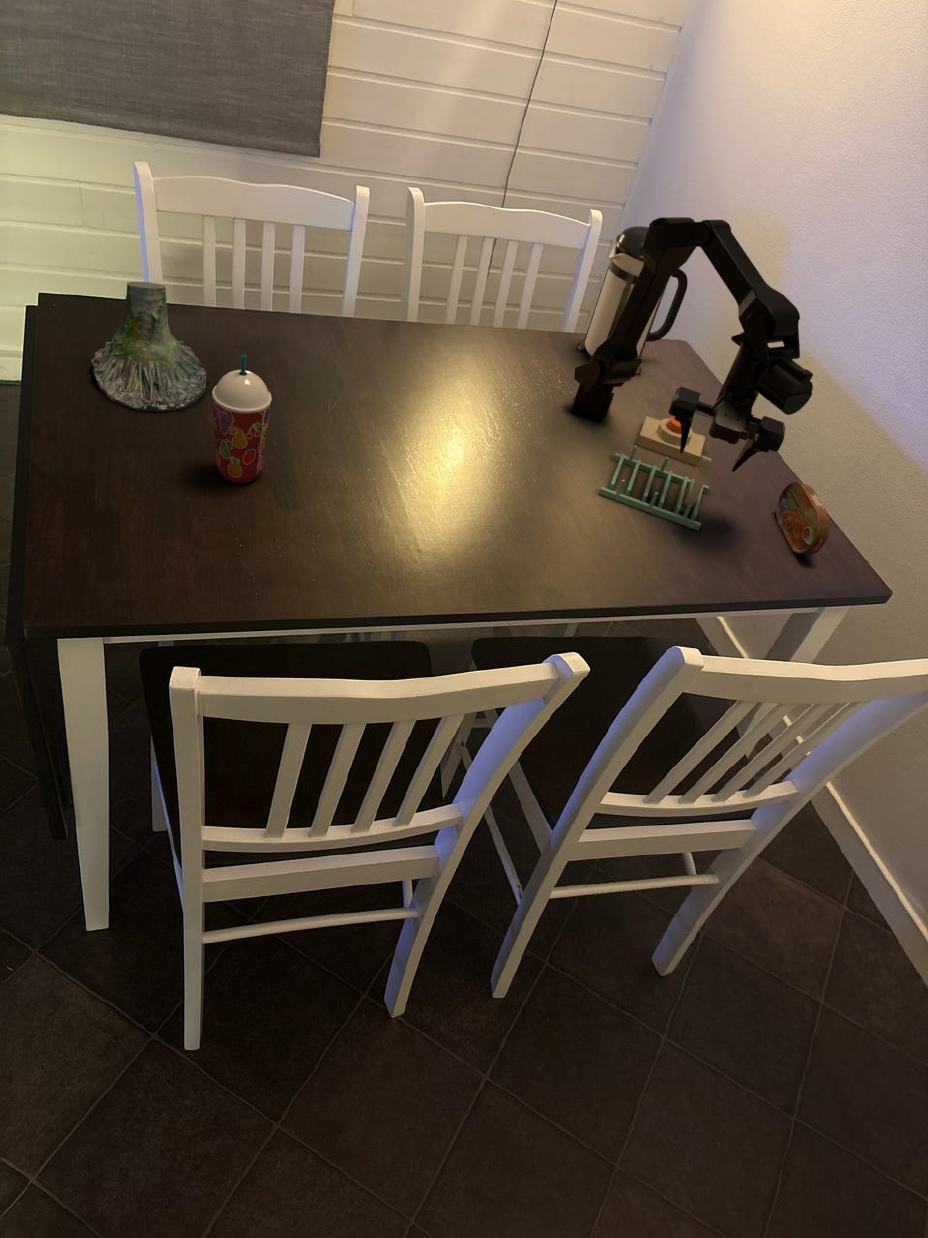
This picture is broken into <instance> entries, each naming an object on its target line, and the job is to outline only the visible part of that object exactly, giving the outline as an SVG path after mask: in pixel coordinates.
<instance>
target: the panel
mask: <svg viewBox="0 0 928 1238" xmlns="http://www.w3.org/2000/svg"><path fill="white" fill-rule="evenodd" d="M670 418H671V417H665V418H663V419H657V418H653V417H652V416H651V417H650V416H649V415H647V416H645V419H644V422H643V424H642V426H641V429H640V433H639V434H638V438H637V440H636V443H635V445H636V446H640V447H642V448H646V449H648V450H650V451H653V452H657V453H659V454H662V455H665V456H666V457H669V458H673V459H676V460H678V461H680V462H681V461H682V462H684V463H686V464H690V465H692V466H695V467H696V466H697V464H698V462H699V460H700V458H701V457H702V453H703V449H704V444H705V440H706V436H704V435H701V434H699V433H696V432H694V430H693V429H692V427H691V428H690V431H689V435H688V439H687V442H686V446H685V449H684V451H683V453H680V446H681V434H677V433H674V432H672V431H670V430H669V429H668V428H667V425H668V422H669V420H670Z"/></svg>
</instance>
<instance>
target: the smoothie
mask: <svg viewBox="0 0 928 1238" xmlns="http://www.w3.org/2000/svg"><path fill="white" fill-rule="evenodd" d="M240 357H241V359H240V361H241V362H240V369H235V370H231V371H228V372H227V373H226V374H224V375H223V376H221V378H220V379H219V380H218V382H217V384H216V385H215V386H214V387H213V389H212V391H211V393H212V394H211V395H212V408H213V409H212V410H213V424H214V426H213V427H214V443H215V461H216V468H217V470H219V471H220V474H221V476H222V477H223V478H224V479H226V480H227V481H230V482H232V483H237V484H239V483H240V484H244V483H248V482H252V481H253V480H255V479H256V478H257V477H258V475H259V474H260V473H261V471H262V468H263V465H264V456H265V448H266V442H267V435H268V433H267V432H268V426H269V421H270V420H269V419H270V412H271V406H272V405H271V403H272V402H273V401H272V400H273V397H272V394H271V392H270V391H269V389H268V388H267V384H265V382H264V381H263V379H262V378H261V377H260V376H259V375H258V374H256V373H254V372H252V371H250V370H247V368H246V367H247V355H246V354H241V356H240Z"/></svg>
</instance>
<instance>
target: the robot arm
mask: <svg viewBox="0 0 928 1238" xmlns="http://www.w3.org/2000/svg"><path fill="white" fill-rule="evenodd" d="M650 223H651V224H650ZM650 223H649V224H650V225H649V224H648V227H649V228H648V230H647V234H646V237H645V240H644V243H643V247H642V252H643V261H644V265H643V267H642V270H641V272H640V274H639V276H638V278H637V280H636V283H635V285H634V287H633V289H632V291H631V294H630V296H629V298H628V300H627V302H626V305H625V307H624V309H623V311H622V313H621V316H620V318H619V320H618V322H617V324H616V327H615V329H614V331H613V333H612V335H611V336H610V337H609V338H608V339H607V340H605V341H604V342H603V343H602V344H601V345H600V346H598V347H597V349H596V350H595V352H594V354H593V355H592V356H590V358H589V361H588V362H585V363H583V364H581V365H578V366H576V367H575V368H574V374H573V375H574V377H573V378H574V381H576V382H577V383H578V384H579V385H578V388H577V391H576V394H575V397H574V400H573V403H572V405H571V406H570V408H569V412H570V413H571V414H573V415H577V416H578V417H582V418H585V419H587V420H591V421H593V422H596V423H599V424H600V423H602V421H603V419H604V418H606V417H607V416H608V414H609V411H610V408H611V406H612V403H613V400H614V397H615V392H613V391H614V389H615V388H617V387H618V388H622V387H623V385H624V384H625V383H626V382H629V381H630V380H632V378H636V377H637V374H636V371H638V369H639V366H640V364H641V365H642V363H643V359H642V357H641V358H640V357H638V352H637V344H638V342H639V340H640V338H641V336H642V333H643V331H644V329H645V327H646V325H647V323H648V321H649V319H650V317H651V315H652V313H653V311H654V309H655V307H656V305H657V302H658V300H659V298H660V296H661V294H662V292H663V290H664V288H665V286H666V284H667V282H668V280H669V278H670V279H671V277H672V276H671V275H672V274H673V273H674V272H675V271H676V270H677V269H681V267H682V266H684V265H685V264H686V263H687V262H688V260H689V259H690V257H691V256H692V255H693V253H694V251H695V250H696V249H697V248H700V249H701V250H702V252H703V253H704V255H705V256H706V257H707V259H708V261H709V262H710V264H711V265H712V267H713V268H714V270H715V271H716V273H717V274H718V276H719V277H720V279H721V280H722V282H723V283H724V285H725V286H726V288H727V289H728V291H729V292H730V294H731V296H732V297H733V298H734V300H735V302H736V304H737V305H736V306H737V308H738V309H737V310H738V311H737V315H738V316H737V317H738V318H737V319H738V321H739V323H740V325H741V328H742V330H743V331H742V332H740V333H738V334H735V335H732V336H731V337H730V340H731V341H732V342H733V343H734V344H736V345H737V346H738V347H739V349H738V350H737V353H736V355H735V358H734V360H733V362H732V364H731V366H730V369H729V371H728V372H727V375H726V378H725V380H724V382H723V384H722V386H721V387H720V391H719V393H718V395H717V397H716V400H715V402H714V404H713V405H712V404H709V403H707V402H703V401H700V397H701V392H698V391H695V390H692V389H690V388H687V387H685V386H680V387H678V388H676V390H675V392H674V395H673V397H672V399H671V403H670V405H669V409H668V414H669V415H670V416H672V417H674V419H675V420H676V421H678V422H680V425H681V446H680V453H683V451H684V449H685V446H686V442H687V439H688V435H689V431H690V428H691V429H692V424H693V420H694V417H695V414H697V415H700V416H703V417H705V418H708V419H712V421H711V424H710V427H709V429H708V434H709V435H708V436H710V437H711V438H713V439H719V440H720V441H721V440H722V441H723V442H726V443H728V444H731V445H736V444H738V443H739V441H740V440H743V441H746V443H745V445H744V446H743V448H742V450H740V452H739V454H738V456H737V458H735V459H736V460H735V462H734V463H733V466H732V468H731V472H733V473H735V472H736V471H737V470H738V469H740V467H742V465H744V464H745V463H746V462H747V461H748V460H749V459H750V458H751V457H753V456H755V455H757V453H758V454H759V453H768V452H769V451H772V452H774V453H775V452H779V450H780V448H781V447H782V444H783V442H784V440H785V435H786V425H785V422H783V421H781V420H778V419H775V418H772V417H769V416H767V415H763V416H762V418H758V417H756V416H754V414H753V413H752V412H753V407H754V406H755V403H756V401H757V399H758V396H759V395H761V396H762V397H763V398H764V399H765V400H767V401H768V402H769V403H770V404H772V405H773V406H774V407H775V408H777V409H778V410H780V411H781V412H782V413H784V414H785V415H786V416H791V415H795V414H796V413H797V412H800V411H801V410H802V409H803V408H804V407H805V406H806V404H807V403H808V402H809V401H810V399H811V398H812V395H813V389H814V385H813V382H812V378H813V376H814V373H813V372H812V371H811V370H809V369H807V368H804V367H802V366H801V365H800V364H798V363H797V362H796V361H794V360H799V359H801V347H800V346H801V344H800V330H799V324H800V319H801V316H800V312H799V310H798V308H797V306H795V304H793V303H792V301H790V299H789V298H787V297H786V295H785V294H783V293H781V292H780V291H778V290H776V289H774V288H773V287H772V286H770V285H769V284H768V283H767V282H766V281H765V279H764V278H763V277H762V275H761V273H760V272H759V271H758V269H757V268H756V266H755V265H754V263H753V261H752V260H751V258H749V257H750V256H748V254H747V252H745V250H744V249H743V247H742V245H741V244H740V243H739V241H738V240H737V237H735V235H734V233H733V232H732V226H731V225H730V223H728V222H727V221H726V220H725V219H702V220H701V221H695V220H694V219H693V218H691V217H689V216H688V217H687V216H686V217H685V216H683V217H682V216H681V217H680V216H678V217H677V216H676V217H673V216H672V217H671V216H669V217H667V216H666V217H665V216H664V217H657V218H656V219H653V220H652V222H651V221H650ZM670 276H671V277H670ZM669 281H670V280H669ZM668 283H669V282H668ZM774 343H782V344H783V345H781V346H773V347H770V346H769V344H774Z"/></svg>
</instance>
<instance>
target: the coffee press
mask: <svg viewBox="0 0 928 1238" xmlns="http://www.w3.org/2000/svg"><path fill="white" fill-rule="evenodd" d="M652 221H653V220H652ZM652 221H650V223H649V224H648V226H644V225H643V226H641V225H635V226H629V227H627V228H625V229H624V230H622V231H621V233H619V234H618V235H617V236H616V239H615V242H614V246H613V248H612V250H611V251H610V252H609V255H608V259H609V263H608V266H607V269H606V273H605V276H604V279H603V281H602V285H601V287H600V291H599V293H598V298H597V300H596V303H595V306H594V309H593V312H592V315H591V319H590V321H589V325H588V328H587V331H586V333H585V337H584V338H583V339H582V340H580V341H579V342H578V343H577V344H576V349H577V350H578V351H583V350H586V352H587V353H588V354H589V355H590V357H592V355H593V354H594V352H595V350H596V349H597V347H598V346H600V345H601V344H602V343H603V342H604V341H605V340H607V339H608V338H609V337H610V336H611V335H612V333H613V331H614V329H615V327H616V324H617V322H618V320H619V318H620V316H621V313H622V311H623V309H624V307H625V305H626V302H627V300H628V298H629V296H630V294H631V291H632V289H633V287H634V285H635V283H636V280H637V278H638V276H639V274H640V272H641V270H642V267H643V265H644V261H643V252H642V247H643V243H644V240H645V237H646V234H647V230H648V228H649V225H650V224H651V222H652ZM671 277H672V278H675V279H676V280H677V287H676V291H675V293H674V296H673V298H672V301H671V304H670V307H669V309H668V312H667V314H666V317H665V320H664V322H663V324H662V325H661V327H660V328H659V329H658V330H655V331H654V332H651V330H652V328H653V325H654V322H655V320H656V317H657V314H658V312H659V309H660V307H661V303H662V301H663V298H664V297H665V293H666V290H667V287H668V285H669V282H670V279H671ZM688 282H689V280H688V276H687V274H686V273H685V271H683V270H682V269H681V268H679V269H677V270H676V271H675V272H674V273H673V274H672V275H671V276H670V278H669V280H668V282H667V284H666V286H665V288H664V290H663V292H662V294H661V296H660V298H659V300H658V302H657V305H656V307H655V309H654V311H653V313H652V315H651V317H650V319H649V321H648V323H647V325H646V327H645V329H644V331H643V333H642V336H641V338H640V340H639V342H638V344H637V352H638V357H640V358H641V359H642V354H643V353H644V349H645V347H646V345H647V343H648V342H649V343H652V342H657V341H659V340H661V339H663V338H664V337H665V336H666V335H668V333H669V332H670V331H671V329H672V327H673V325H674V323H675V321H676V319H677V317H678V313H679V312H680V309H681V306H682V304H683V301H684V298H685V295H686V293H687V290H688ZM583 342H584V345H585V346H583V347H582V346H581V345H580V344H581V343H583ZM638 369H639V370H637V371H636V375H638V374H640V373H641V372H642V370H643V366H642V363H641V364H640V366H639V367H638Z"/></svg>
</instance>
